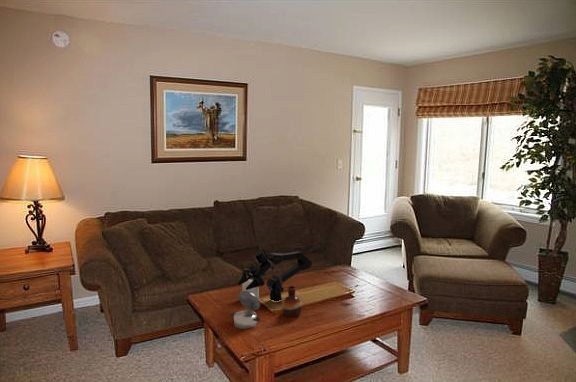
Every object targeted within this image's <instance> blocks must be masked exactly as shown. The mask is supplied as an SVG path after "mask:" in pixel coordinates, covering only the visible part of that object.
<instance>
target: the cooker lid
mask: <svg viewBox="0 0 576 382" xmlns="http://www.w3.org/2000/svg"><path fill="white" fill-rule="evenodd" d="M237 298H238V301H239V302H240V303H241V305H242V306H243V307H245V308H247V309H248V310H251V311H256V310H258V309H259V308H260V307H261V302H260V298H259V299H258V298H257V297H256V296H255V295H254V294H252V293H251V292H248V291H243V290H241V291H240V292H239V293H238V296H237Z"/></svg>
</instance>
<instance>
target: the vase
mask: <svg viewBox="0 0 576 382" xmlns="http://www.w3.org/2000/svg"><path fill="white" fill-rule="evenodd" d="M287 293H288V295H287V296H285V298H284V299H283V300H282V302H281V304H282V305H281V307H282V311H283V314H284V315H285V316H286V317H290V318H296V317H298V316H300V315H301V313H302V310H303V302H302V300H301V299H300V297H298V296H296V286H293V285H291V286H288V287H287Z"/></svg>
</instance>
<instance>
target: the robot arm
mask: <svg viewBox="0 0 576 382" xmlns="http://www.w3.org/2000/svg"><path fill="white" fill-rule="evenodd" d="M253 256H254V258H255V260H256V262H257V263H258V264H259V265H258V264H253V263H250V262H247V264H246V265H245V268H243V269H241V277H240V279H239V281H238V282H237V285H238V286H240V285H242V284H243V283H245V282H247V281H248V280H252V282H251V283H250V284H249V285H248V286H247V287H246V290H248V289H252V288H255V287H259V288H260V287H264V286H265V285H266V287H267V288H268V290H270V292H269V300H270V299H271V300H274V301H279V300H281V299H282V300H283V296H282V293H283V292H284V290H285V288H284V287H283V284H284V283H285V282H287V281H288V280H289V279H291V278H292V277H294V276H295V275H297V274H299V273H300V272H303V271H307V270H308V269H311V268H312V265H313V264H312V263H313V261H312V260H311V259H310V258H308V257H307V256H305V255H304V254H303V252H301V251H299V250H296V251H292V252H291V251H290V252H284V253H278V252H270V253H269V254H267V253H266V251H265V249H264V248H261V249H258V250H256V251H255V252H254V253H253ZM290 260H291V261H292V260H296V261H297V262H296V264H294V265H293V266H292V267H290V268H289V269H287V270H286V271H284V272H283V273H281V274H280V275H275V274H274V275H272V276H271V277H268V279H267V280H266V282H265V280H264V278H263V277H265V273H267V272H268V271H269V270H270V271H274V265H279V264H281V263H282V262H285V261H290ZM262 276H263V277H262ZM271 300H270V301H271Z"/></svg>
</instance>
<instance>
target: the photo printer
mask: <svg viewBox="0 0 576 382" xmlns="http://www.w3.org/2000/svg"><path fill="white" fill-rule="evenodd" d="M252 280H253V279H248V281H247V282H245V283H243V284H241V285H242V286H241V287H242V291H248V292H251V293H252V294H254V295H255V296H256V297H257V298H258V299H259V300H260V298H259V297H260V295H259V294H260V293H259V290H260V287H255V288H252V289H248V290H246V287H247V286H248V285H249V284H250V283H251V282H252Z"/></svg>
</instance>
